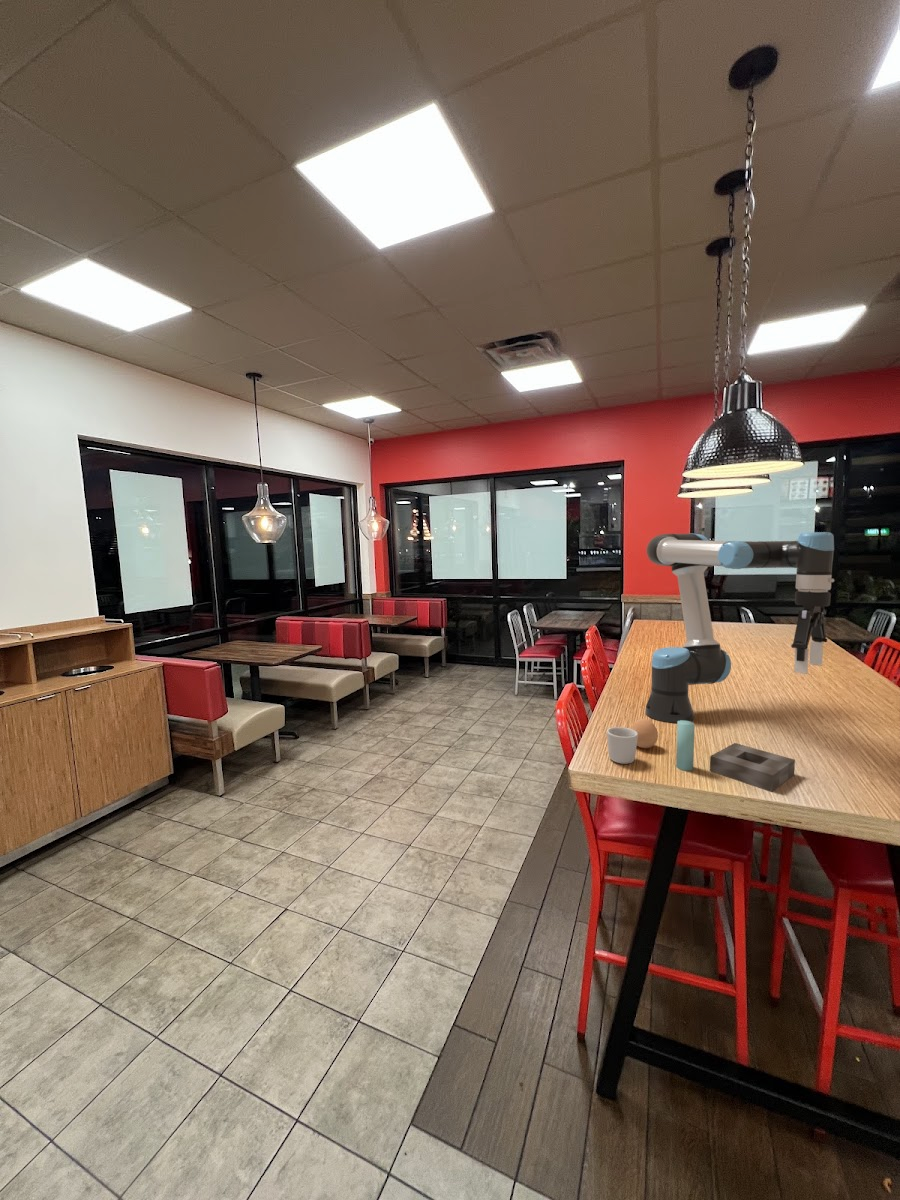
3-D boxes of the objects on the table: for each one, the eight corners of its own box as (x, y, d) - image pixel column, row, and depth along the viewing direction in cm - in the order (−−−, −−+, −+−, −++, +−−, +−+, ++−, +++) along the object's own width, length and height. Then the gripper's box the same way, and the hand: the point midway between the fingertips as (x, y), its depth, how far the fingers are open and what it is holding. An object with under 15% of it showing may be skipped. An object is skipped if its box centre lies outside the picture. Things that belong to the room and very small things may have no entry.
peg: (673, 767, 125) (674, 722, 124) (681, 763, 127) (682, 719, 126) (688, 772, 121) (689, 726, 120) (696, 768, 124) (697, 723, 123)
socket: (709, 770, 122) (710, 755, 122) (734, 756, 130) (734, 742, 130) (771, 791, 111) (772, 775, 110) (794, 774, 119) (794, 759, 119)
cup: (597, 751, 136) (598, 723, 135) (624, 749, 136) (625, 722, 136) (613, 767, 125) (614, 737, 124) (642, 765, 126) (643, 736, 125)
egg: (624, 745, 140) (625, 716, 139) (643, 741, 143) (644, 713, 142) (644, 754, 133) (644, 724, 132) (663, 749, 136) (664, 720, 135)
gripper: (816, 594, 116) (811, 679, 118) (842, 588, 131) (837, 664, 133) (780, 592, 121) (776, 673, 123) (809, 587, 137) (805, 659, 139)
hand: (808, 669), depth 128 cm, fingers open, 13 cm apart
